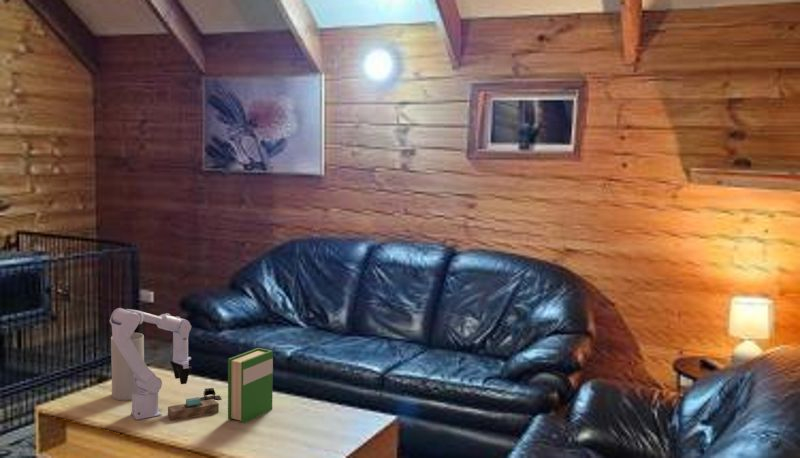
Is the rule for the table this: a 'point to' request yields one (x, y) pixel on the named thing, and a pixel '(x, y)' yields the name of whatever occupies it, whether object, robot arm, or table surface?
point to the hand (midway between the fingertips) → (180, 381)
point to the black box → (210, 392)
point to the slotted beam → (193, 410)
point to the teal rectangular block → (193, 402)
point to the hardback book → (250, 384)
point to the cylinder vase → (124, 369)
